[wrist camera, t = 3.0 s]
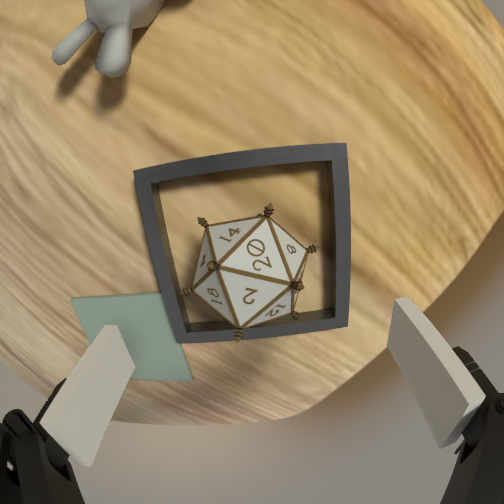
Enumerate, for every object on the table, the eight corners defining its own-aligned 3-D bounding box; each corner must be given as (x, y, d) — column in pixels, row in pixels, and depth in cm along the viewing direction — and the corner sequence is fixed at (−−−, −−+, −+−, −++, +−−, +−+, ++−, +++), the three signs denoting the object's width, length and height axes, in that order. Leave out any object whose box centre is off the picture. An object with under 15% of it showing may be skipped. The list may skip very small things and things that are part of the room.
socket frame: (180, 333, 26) (177, 343, 24) (140, 168, 20) (133, 170, 19) (343, 317, 25) (347, 326, 23) (339, 142, 19) (346, 142, 18)
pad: (109, 375, 28) (108, 377, 28) (72, 297, 25) (70, 299, 24) (193, 378, 28) (192, 381, 28) (164, 291, 24) (163, 293, 24)
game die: (230, 227, 26) (151, 199, 17) (323, 213, 22) (278, 165, 13) (234, 327, 24) (152, 344, 16) (330, 326, 21) (290, 357, 12)
